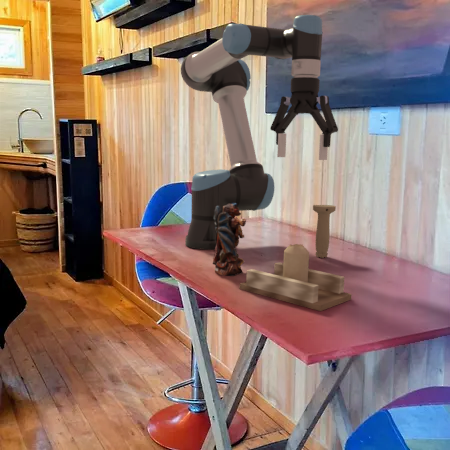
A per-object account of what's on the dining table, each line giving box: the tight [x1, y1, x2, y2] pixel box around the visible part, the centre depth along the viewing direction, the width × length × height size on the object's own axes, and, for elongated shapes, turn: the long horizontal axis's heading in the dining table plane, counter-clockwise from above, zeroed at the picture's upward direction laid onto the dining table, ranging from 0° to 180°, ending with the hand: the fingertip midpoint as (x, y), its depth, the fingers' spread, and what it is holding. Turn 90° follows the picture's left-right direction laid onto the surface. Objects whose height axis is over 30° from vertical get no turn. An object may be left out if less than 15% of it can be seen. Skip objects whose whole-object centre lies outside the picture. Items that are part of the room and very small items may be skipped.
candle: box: [283, 243, 310, 283], centre depth 125 cm, size 6×6×10 cm
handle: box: [312, 204, 337, 259], centre depth 163 cm, size 5×6×15 cm
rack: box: [239, 261, 353, 312], centre depth 126 cm, size 22×12×5 cm, turn 47°
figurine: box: [212, 203, 247, 277], centre depth 143 cm, size 11×9×18 cm
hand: (301, 158), depth 152 cm, fingers open, 13 cm apart
